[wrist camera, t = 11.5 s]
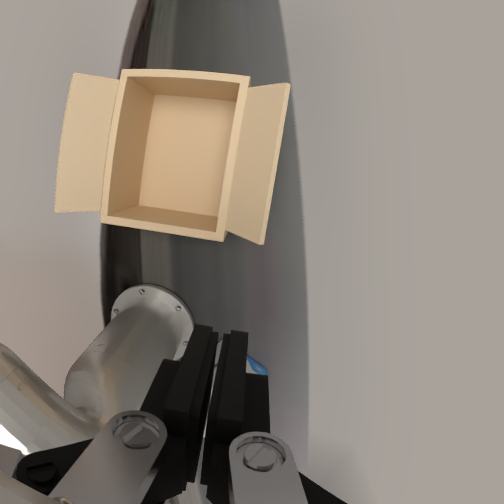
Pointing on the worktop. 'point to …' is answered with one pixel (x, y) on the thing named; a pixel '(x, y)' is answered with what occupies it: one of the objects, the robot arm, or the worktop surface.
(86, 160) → the flap
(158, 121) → the carton
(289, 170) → the worktop surface
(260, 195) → the flap
